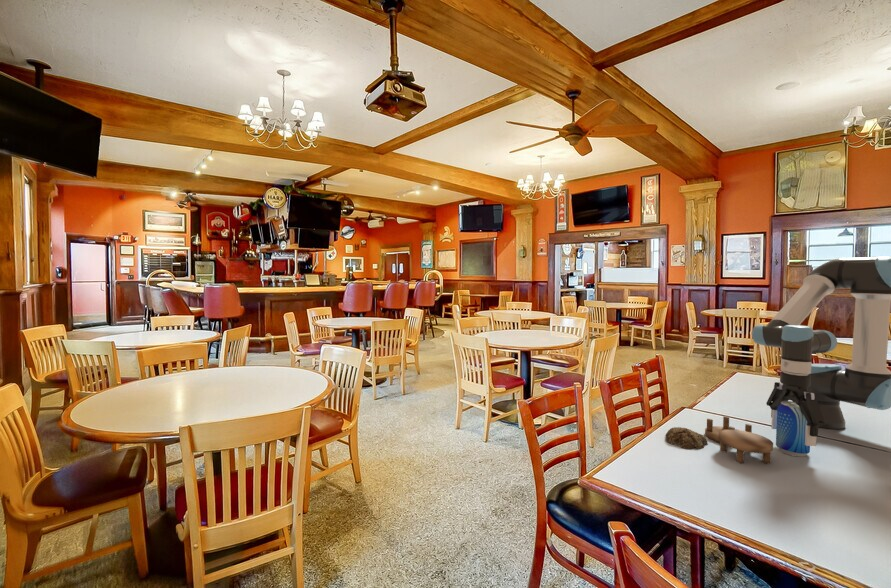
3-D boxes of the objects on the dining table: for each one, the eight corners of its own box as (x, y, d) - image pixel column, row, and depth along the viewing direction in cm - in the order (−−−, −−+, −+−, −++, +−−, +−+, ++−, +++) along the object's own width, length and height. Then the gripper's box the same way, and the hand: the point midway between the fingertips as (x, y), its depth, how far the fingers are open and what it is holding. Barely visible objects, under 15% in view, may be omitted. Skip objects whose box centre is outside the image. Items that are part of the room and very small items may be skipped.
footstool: (751, 447, 134) (751, 429, 134) (784, 467, 120) (785, 447, 120) (708, 446, 135) (709, 429, 135) (736, 466, 121) (737, 447, 121)
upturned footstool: (724, 429, 150) (724, 413, 150) (763, 444, 137) (763, 427, 137) (695, 433, 146) (696, 417, 146) (733, 449, 133) (733, 431, 132)
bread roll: (671, 432, 148) (671, 419, 148) (710, 442, 139) (710, 428, 139) (659, 442, 139) (659, 428, 139) (700, 454, 130) (700, 439, 130)
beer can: (816, 458, 126) (818, 409, 125) (785, 456, 128) (787, 407, 127) (798, 447, 134) (800, 400, 133) (770, 445, 136) (771, 399, 135)
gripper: (755, 364, 142) (753, 422, 143) (817, 382, 117) (813, 453, 118) (777, 364, 142) (774, 423, 143) (843, 383, 117) (840, 453, 118)
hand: (792, 436), depth 130 cm, fingers open, 13 cm apart
